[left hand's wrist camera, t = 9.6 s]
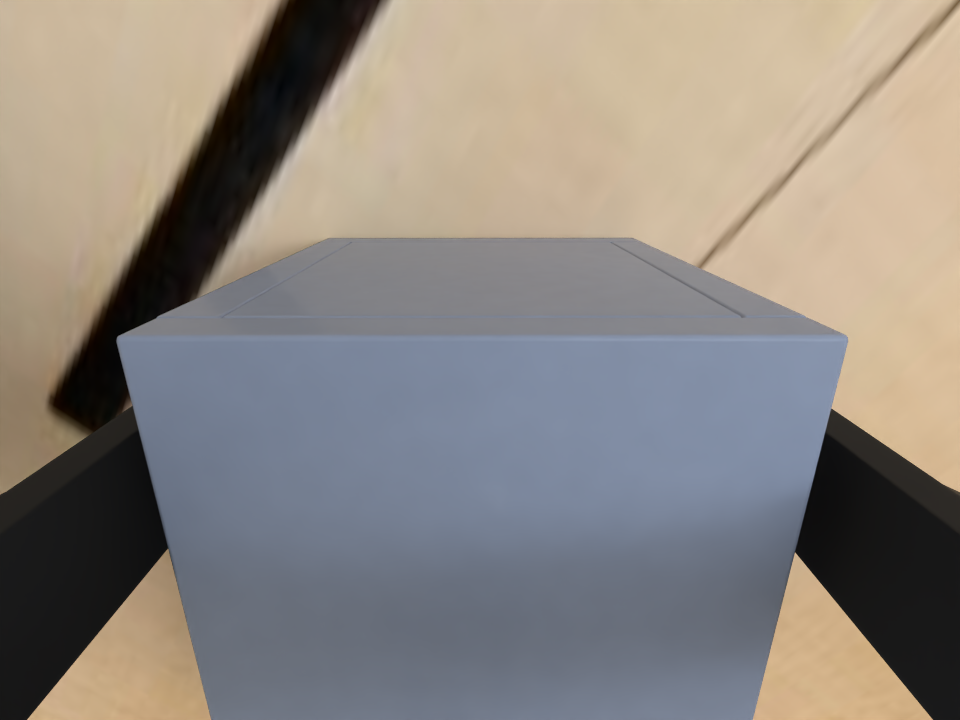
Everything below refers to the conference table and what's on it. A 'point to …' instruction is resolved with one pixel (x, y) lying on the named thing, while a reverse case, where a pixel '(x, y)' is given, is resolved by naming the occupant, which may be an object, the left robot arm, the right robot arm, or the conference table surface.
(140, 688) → the conference table surface
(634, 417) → the cabinet
